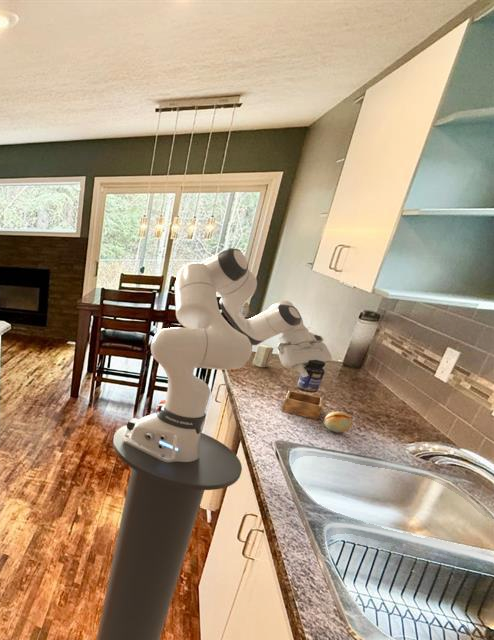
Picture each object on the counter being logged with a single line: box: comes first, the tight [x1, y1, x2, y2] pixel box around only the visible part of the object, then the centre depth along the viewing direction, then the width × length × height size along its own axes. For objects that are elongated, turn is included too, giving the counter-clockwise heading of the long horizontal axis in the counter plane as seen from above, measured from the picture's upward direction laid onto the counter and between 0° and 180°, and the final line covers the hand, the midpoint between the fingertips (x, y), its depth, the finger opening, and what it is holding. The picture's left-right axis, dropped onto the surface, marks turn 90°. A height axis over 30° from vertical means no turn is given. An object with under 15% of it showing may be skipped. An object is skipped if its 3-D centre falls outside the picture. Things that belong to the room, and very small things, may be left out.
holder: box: [281, 389, 324, 421], centre depth 146 cm, size 11×11×5 cm
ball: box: [323, 411, 353, 433], centre depth 131 cm, size 7×7×7 cm
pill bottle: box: [296, 360, 326, 394], centre depth 141 cm, size 6×6×11 cm
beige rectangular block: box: [252, 344, 275, 368], centre depth 191 cm, size 5×4×10 cm
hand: (314, 375), depth 141 cm, fingers closed on pill bottle, 6 cm apart
